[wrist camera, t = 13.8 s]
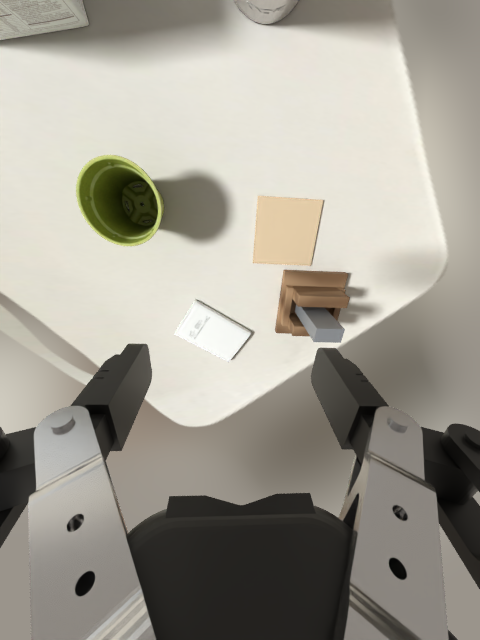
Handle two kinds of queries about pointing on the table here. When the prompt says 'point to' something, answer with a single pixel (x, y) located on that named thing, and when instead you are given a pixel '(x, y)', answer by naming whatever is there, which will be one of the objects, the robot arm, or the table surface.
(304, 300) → the rack
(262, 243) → the cork mat
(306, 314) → the grey rectangular block
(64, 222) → the table surface
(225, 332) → the external hard drive
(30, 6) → the supplement box
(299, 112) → the table surface
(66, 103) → the table surface
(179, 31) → the table surface
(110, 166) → the plant pot
